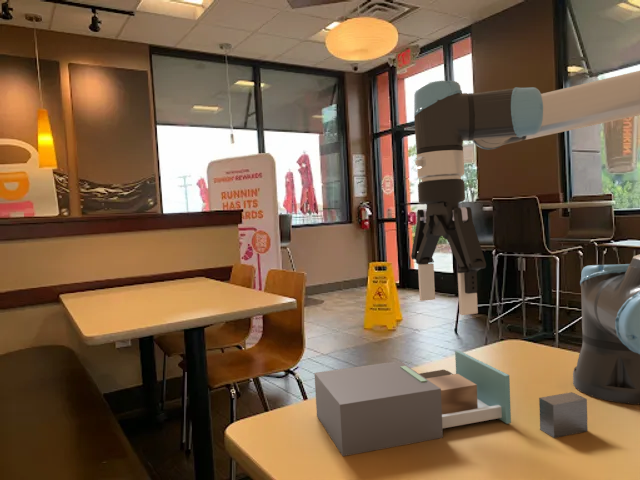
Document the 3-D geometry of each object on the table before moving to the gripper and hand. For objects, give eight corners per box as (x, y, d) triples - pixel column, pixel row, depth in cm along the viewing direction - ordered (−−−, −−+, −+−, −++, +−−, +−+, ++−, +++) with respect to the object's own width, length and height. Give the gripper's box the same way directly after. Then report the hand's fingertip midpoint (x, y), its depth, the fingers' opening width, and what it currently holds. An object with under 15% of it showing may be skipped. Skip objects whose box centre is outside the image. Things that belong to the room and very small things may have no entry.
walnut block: (458, 395, 87) (457, 373, 86) (477, 408, 81) (476, 384, 81) (422, 401, 85) (421, 379, 85) (439, 415, 79) (438, 390, 79)
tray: (460, 390, 92) (458, 350, 91) (510, 422, 77) (509, 375, 77) (381, 403, 88) (379, 361, 87) (419, 439, 73) (417, 389, 73)
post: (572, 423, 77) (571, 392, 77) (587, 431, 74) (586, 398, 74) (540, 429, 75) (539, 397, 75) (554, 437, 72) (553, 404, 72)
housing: (401, 401, 89) (399, 359, 88) (442, 437, 74) (440, 387, 74) (316, 415, 85) (314, 371, 84) (342, 456, 70) (339, 403, 70)
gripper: (389, 185, 92) (395, 297, 93) (460, 173, 68) (467, 324, 69) (426, 183, 94) (431, 293, 95) (507, 171, 70) (513, 318, 71)
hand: (446, 306), depth 82 cm, fingers open, 13 cm apart
